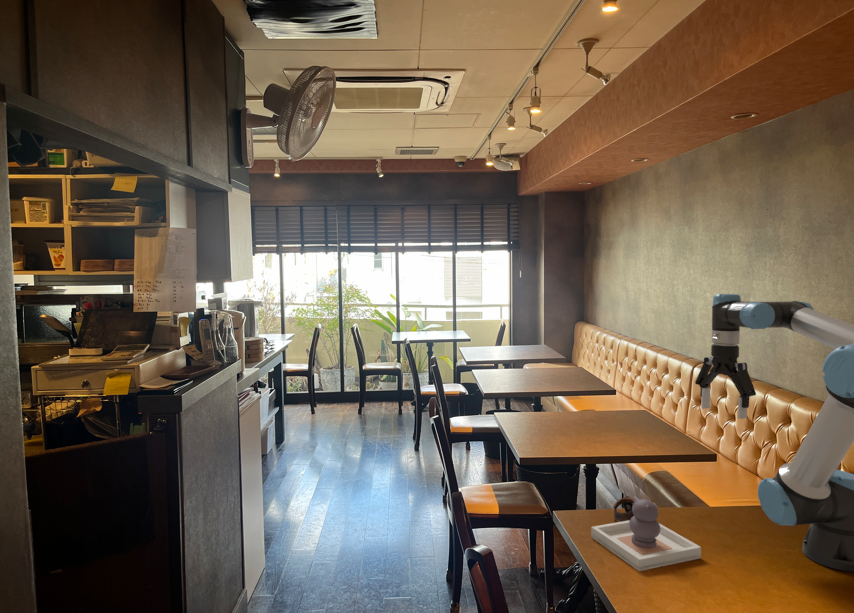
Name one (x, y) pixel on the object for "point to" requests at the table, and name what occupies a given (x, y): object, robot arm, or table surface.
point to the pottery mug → (627, 505)
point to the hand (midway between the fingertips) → (723, 413)
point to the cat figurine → (644, 523)
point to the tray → (665, 553)
